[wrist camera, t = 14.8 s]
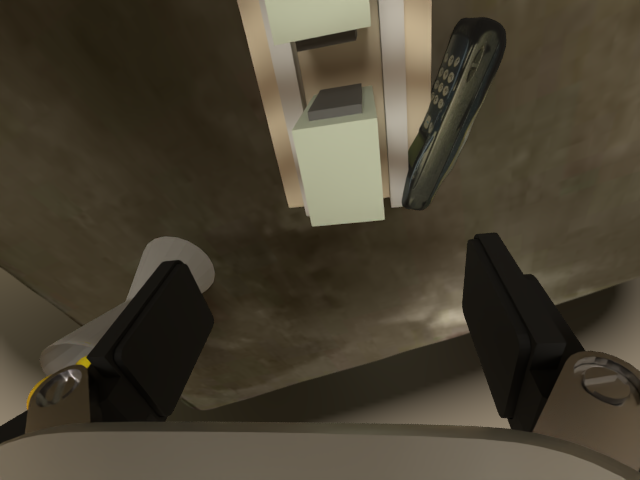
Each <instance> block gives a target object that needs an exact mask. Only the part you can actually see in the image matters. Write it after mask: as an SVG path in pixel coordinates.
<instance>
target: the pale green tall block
mask: <svg viewBox="0 0 640 480" xmlns="http://www.w3.org/2000/svg"><path fill="white" fill-rule="evenodd" d="M292 135H293V140H294V144H295V149H296V154H297V158H298V163H299V168H300V172H301V177H302V182H303V186H304V191H305V196H306V201H307V205H308V210H309V215H310V219H311V224H312V227H313V226H324V225H334V224H345V223H356V222H367V221H377V220H385V217H384V204H383V190H382V177H381V163H380V149H379V136H378V122H377V114H376V107H375V101H374V95H373V88H372V85H371V86H365V87H362V84H361V83H358V84H352V85H347V86H341V87H335V88H329V89H323V90H320V91H319V93H318V94H317V95H314V96H313V97H312V99H311V101H310V102H309V104H308V105H307V107H306V108H305V110H304V112H303V113H302V115H301V116H300V118H299V120H298V121H297V123H296V124H295V126H294V128H293V129H292Z"/></svg>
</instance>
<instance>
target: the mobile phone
mask: <svg viewBox="0 0 640 480" xmlns="http://www.w3.org/2000/svg"><path fill="white" fill-rule="evenodd" d="M505 47H506V32H505V29H504V28H503V26H502V25H501V24H500V23H498V22H497V21H495V20H492V19H489V18H485V17H480V18H463V19H461V20H460V21H459V22H458V23H457V25H456V26H455V28H454V30H453V33H452V36H451V39H450V42H449V45H448V48H447V51H446V54H445V57H444V59H443V62H442V65H441V68H440V70H439V73H438V76H437V79H436V81H435V84H434V87H433V89H432V92H431V102H430V105H429V108H428V110H427V113H426V116H425V118H424V120H423V122H422V124H421V126H420V128H419V133H418V134H417V136H416V138H415V139H414V141H413V143H412V144H411V146H410V148H409V150H408V173H407V177H406V181H405V186H404V191H403V196H402V206H403V207H405V208H406V209H414V210H424V209H425V208H427V207H428V206H429V204H430V203H431V202H432V200H433V198H434V196H435V194H436V192H437V190H438V188H439V187H440V185H441V183H442V182H443V180H444V179H445V178H446V176H447V175H448V174H449V173H450V172H451V170H452V169H453V167H454V165H455V163H456V161H457V159H458V156H459V154H460V152H461V150H462V148H463V146H464V144H465V142H466V140H467V138H468V136H469V132H470V130H471V127H472V124H473V122H474V120H475V118H476V116H477V114H478V112H479V110H480V108H481V106H482V104H483V102H484V100H485V98H486V96H487V93H488V91H489V89H490V86H491V84H492V82H493V79H494V77H495V75H496V72H497V70H498V68H499V65H500V63H501V60H502V58H503V55H504V51H505Z"/></svg>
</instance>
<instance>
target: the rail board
mask: <svg viewBox="0 0 640 480" xmlns="http://www.w3.org/2000/svg"><path fill="white" fill-rule="evenodd" d="M237 2H238V6H239V10H240V14H241V18H242V22H243V26H244V30H245V34H246V38H247V42H248V46H249V50H250V54H251V58H252V62H253V66H254V70H255V74H256V78H257V82H258V86H259V90H260V94H261V98H262V102H263V106H264V110H265V114H266V118H267V122H268V126H269V130H270V134H271V138H272V142H273V146H274V150H275V154H276V158H277V162H278V166H279V170H280V174H281V178H282V182H283V186H284V190H285V194H286V198H287V202H288V206H289V208H293V207H303V206H304V207H305V212H306V216H310V215H309V210H308V205H307V201H306V196H305V191H304V186H303V182H302V177H301V172H300V168H299V163H298V158H297V154H296V149H295V144H294V140H293V135H292V129H293V128H294V126H295V124H296V123H297V121H298V120H299V118H300V116H301V115H302V113H303V112H304V110H305V108H306V107H307V105H308V104H309V102H310V101H311V99H312V97H313V96H314V95H317V94H318V93H319V91H320V90H323V89H329V88H335V87H341V86H347V85H352V84H358V83H361V84H362V87H365V86H371V85H372V88H373V95H374V101H375V107H376V114H377V122H378V136H379V149H380V163H381V177H382V190H383V198H387V197H390V201H391V207H402V196H403V191H404V186H405V181H406V177H407V173H408V150H409V148H410V146H411V144H412V143H413V141H414V139H415V138H416V136H417V134H418V133H419V128H420V126H421V124H422V122H423V120H424V118H425V116H426V113H427V110H428V108H429V105H430V102H431V7H432V0H237Z"/></svg>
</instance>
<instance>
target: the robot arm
mask: <svg viewBox="0 0 640 480" xmlns="http://www.w3.org/2000/svg"><path fill="white" fill-rule="evenodd" d="M462 308H463V313H464V317H465V320H466V322H467V325H468V328H469V331H470V334H471V337H472V339H473V342H474V345H475V348H476V351H477V354H478V357H479V359H480V362H481V365H482V367H483V371H484V373H485V376H486V379H487V382H488V385H489V388H490V391H491V394H492V397H493V399H494V402H495V405H496V408H497V411H498V413H499V415H500V417H501V418H507V419H508V422H509V424H510V427H511V429H505V428H492V427H478V426H455V425H423V424H420V425H419V424H368V423H367V424H365V423H289V422H287V423H286V422H285V423H284V422H279V423H278V422H165V421H166V419H167V417H168V416H169V415H171V414H172V412H173V411H174V408H175V407H176V404H177V402H178V400H179V398H180V396H181V394H182V392H183V389H184V387H185V385H186V383H187V381H188V379H189V377H190V374H191V372H192V370H193V368H194V366H195V364H196V362H197V359H198V357H199V355H200V353H201V351H202V349H203V347H204V344H205V342H206V340H207V338H208V336H209V334H210V332H211V329H212V327H213V324H214V318H213V315H212V313H211V311H210V309H209V307H208V305H207V303H206V301H205V299H204V297H203V295H202V293H201V291H200V289H199V287H198V285H197V283H196V281H195V279H194V277H193V275H192V273H191V271H190V269H189V267H188V265H187V264H184V263H183V262H182V261H181V260H172V261H164V262H162V263H161V264H160V265H159V266H158V267H157V269H156V270H155V271H154V272H153V274H152V275H151V276H150V277H149V279H148V280H147V281H146V283H145V284H144V285H143V286H142V288H141V289H140V290H139V291H138V293H137V294H136V295H135V296H134V298H133V299H132V300H131V301H130V303H129V304H128V305H127V306H126V308H125V309H124V310H123V311H122V313H121V314H120V315H119V316H118V318H117V319H116V320H115V321H114V323H113V324H112V325H111V326H110V328H109V329H108V330H107V332H106V333H105V334H104V335H103V337H102V338H101V339H100V340H99V342H98V343H97V344H96V345H95V347H94V348H93V349H92V350H91V352H90V353H89V354H88V355H87V357H86V358H87V359H88V360H89V362H90V363H91V364H90V365H89V367H88V368H86V367H85V366H83V365H77V364H76V365H71V366H67V367H65V368H63V369H60V370H59V371H57V372H55V373H54V374H52V375H51V376H49V377H48V378H47V379H46V380H44V381H43V382H42V383H41V384H40V385H39V386H38V388H37V389H36V390H35V391H34V393H33V394H32V396H31V398H30V401H29V406H28V410H27V411H25V412H24V413H22V414H20V415H18V416H17V417H15V418H13V419H12V420H10V421H8V422H7V423H5V424H3V425H2V426H0V480H640V371H639V370H638V369H636V368H635V367H634V366H632V365H631V364H629V363H627V362H625V361H624V360H622V359H619V358H617V357H615V356H612V355H609V354H606V353H603V352H595V351H585V350H584V348H583V347H582V345H581V344H580V342H579V341H578V339H577V338H576V336H575V335H574V333H573V332H572V330H571V329H570V327H569V326H568V324H567V323H566V321H565V320H564V318H563V317H562V315H561V314H560V312H559V311H558V309H557V308H556V307H555V305H554V304H553V302H552V301H551V299H550V298H549V296H548V295H547V293H546V292H545V290H544V289H543V287H542V286H541V284H540V283H539V281H538V280H537V279H536V278H535V276H533V275H531V274H526V275H523V273H522V271H521V270H520V268H519V267H518V265H517V264H516V262H515V260H514V259H513V257H512V256H511V254H510V252H509V251H508V249H507V248H506V246H505V245H504V243H503V241H502V240H501V238H500V237H499V235H498V234H497V233H485V234H476V235H475V236H474V239H471V240H468V243H467V254H466V266H465V277H464V289H463V301H462Z"/></svg>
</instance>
